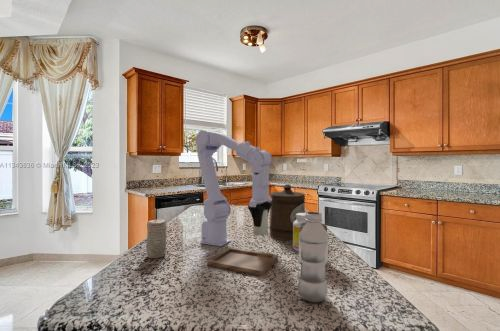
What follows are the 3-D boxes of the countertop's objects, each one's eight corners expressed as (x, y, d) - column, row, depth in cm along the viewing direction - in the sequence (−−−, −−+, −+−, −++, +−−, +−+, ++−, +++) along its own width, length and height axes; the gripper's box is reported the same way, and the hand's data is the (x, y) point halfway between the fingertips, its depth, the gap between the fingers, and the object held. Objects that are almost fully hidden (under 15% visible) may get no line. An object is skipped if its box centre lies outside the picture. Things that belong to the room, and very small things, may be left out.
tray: (207, 265, 80) (207, 260, 80) (229, 251, 93) (229, 247, 93) (262, 276, 73) (262, 271, 73) (277, 259, 86) (277, 254, 86)
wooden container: (301, 242, 104) (302, 186, 104) (265, 238, 109) (265, 185, 109) (306, 232, 118) (307, 183, 117) (274, 229, 123) (274, 182, 123)
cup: (250, 234, 90) (251, 210, 90) (256, 230, 95) (256, 208, 95) (264, 235, 88) (264, 211, 88) (269, 232, 93) (269, 209, 93)
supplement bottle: (311, 253, 92) (312, 216, 91) (292, 251, 93) (292, 215, 93) (311, 247, 98) (311, 212, 98) (293, 245, 100) (293, 212, 99)
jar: (333, 265, 81) (333, 226, 81) (312, 270, 77) (312, 229, 77) (314, 256, 89) (314, 220, 89) (294, 260, 85) (294, 223, 85)
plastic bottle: (294, 292, 64) (295, 210, 64) (321, 291, 65) (322, 210, 65) (302, 307, 58) (302, 216, 58) (332, 305, 59) (333, 215, 58)
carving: (145, 261, 84) (145, 223, 84) (147, 253, 91) (147, 218, 91) (166, 259, 86) (166, 222, 86) (166, 251, 93) (166, 217, 93)
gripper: (264, 188, 83) (263, 230, 83) (278, 184, 96) (277, 221, 97) (243, 187, 86) (243, 228, 86) (260, 183, 99) (259, 219, 99)
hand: (260, 224), depth 92 cm, fingers closed on cup, 5 cm apart
